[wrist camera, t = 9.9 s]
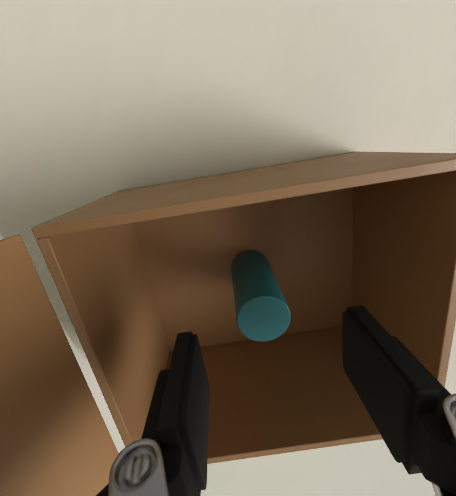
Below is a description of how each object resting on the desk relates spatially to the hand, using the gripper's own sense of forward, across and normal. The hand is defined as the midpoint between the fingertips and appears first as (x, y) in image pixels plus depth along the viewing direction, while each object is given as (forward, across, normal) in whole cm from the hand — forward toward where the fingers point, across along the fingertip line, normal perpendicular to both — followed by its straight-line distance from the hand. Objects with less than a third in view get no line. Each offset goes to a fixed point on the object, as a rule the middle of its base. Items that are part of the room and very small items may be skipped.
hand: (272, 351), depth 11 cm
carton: (+9, 0, 0) cm, 9 cm away
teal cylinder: (+8, 0, 0) cm, 8 cm away
